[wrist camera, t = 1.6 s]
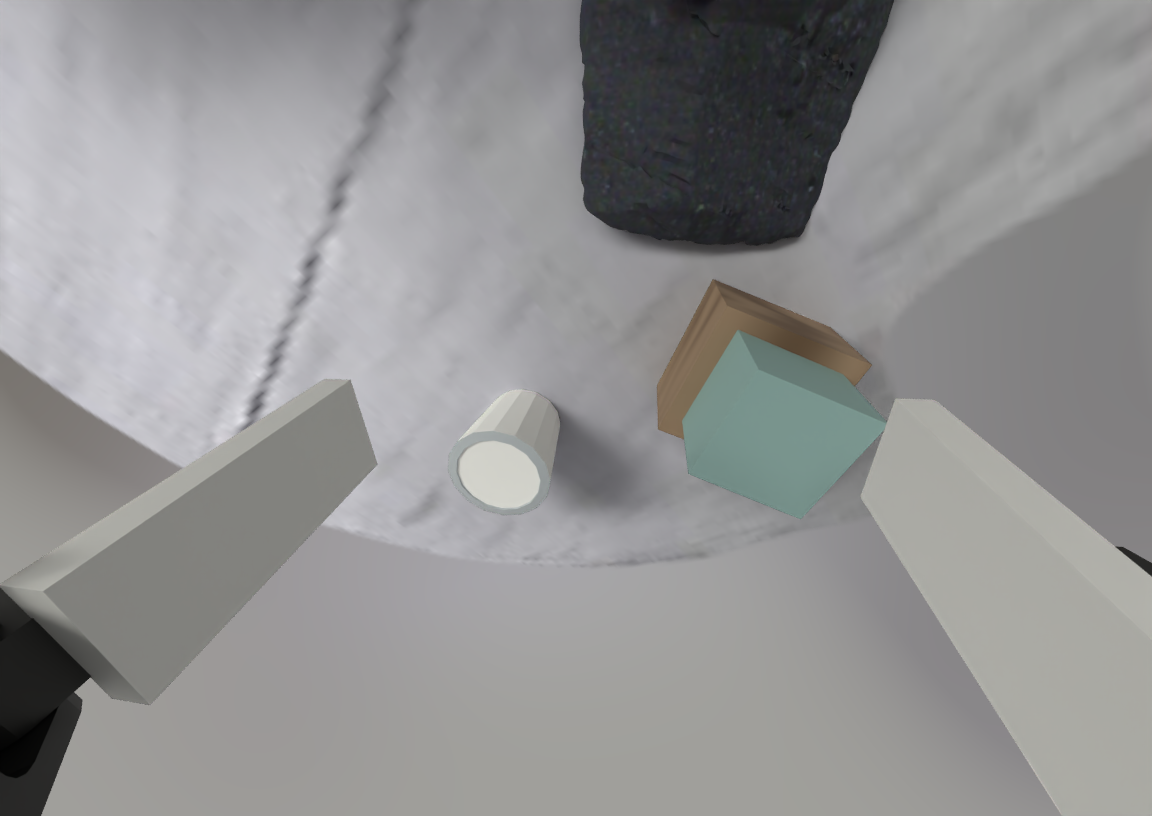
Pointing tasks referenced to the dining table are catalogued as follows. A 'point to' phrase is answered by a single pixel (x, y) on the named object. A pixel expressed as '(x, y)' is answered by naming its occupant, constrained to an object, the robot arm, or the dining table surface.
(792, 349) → the bottom block
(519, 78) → the dining table surface
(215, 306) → the dining table surface
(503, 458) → the shot glass
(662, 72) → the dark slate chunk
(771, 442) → the top block
